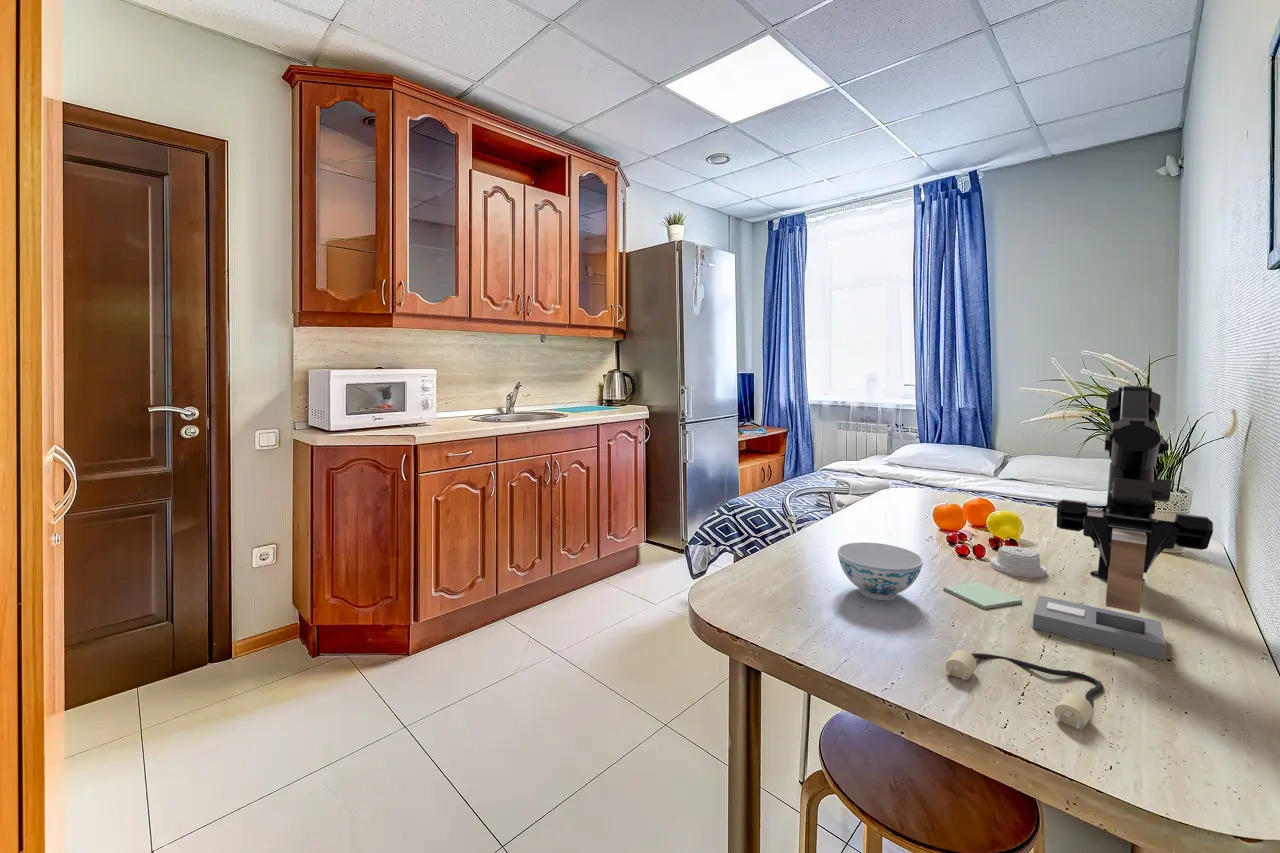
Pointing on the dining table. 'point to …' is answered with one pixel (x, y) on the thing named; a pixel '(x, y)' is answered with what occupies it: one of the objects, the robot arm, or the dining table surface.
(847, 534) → the dining table surface
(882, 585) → the chinaware
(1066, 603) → the socket block
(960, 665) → the cable
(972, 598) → the mat
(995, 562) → the mechanical component
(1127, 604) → the plug
